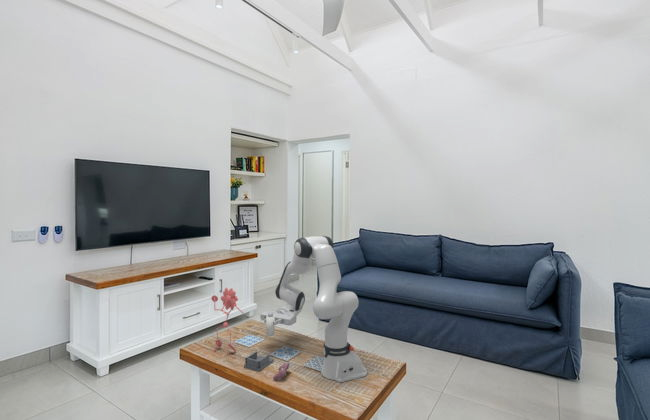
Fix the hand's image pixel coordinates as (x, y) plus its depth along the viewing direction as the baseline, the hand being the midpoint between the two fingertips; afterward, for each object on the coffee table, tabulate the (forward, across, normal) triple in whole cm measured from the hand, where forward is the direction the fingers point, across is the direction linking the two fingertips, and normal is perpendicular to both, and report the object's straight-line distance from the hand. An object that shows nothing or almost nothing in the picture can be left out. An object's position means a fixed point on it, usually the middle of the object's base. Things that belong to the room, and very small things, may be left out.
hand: (269, 322), depth 174 cm
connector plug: (-1, 0, +7) cm, 7 cm away
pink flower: (+3, -25, +19) cm, 32 cm away
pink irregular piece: (+13, +17, +19) cm, 28 cm away
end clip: (+9, 0, +19) cm, 21 cm away
